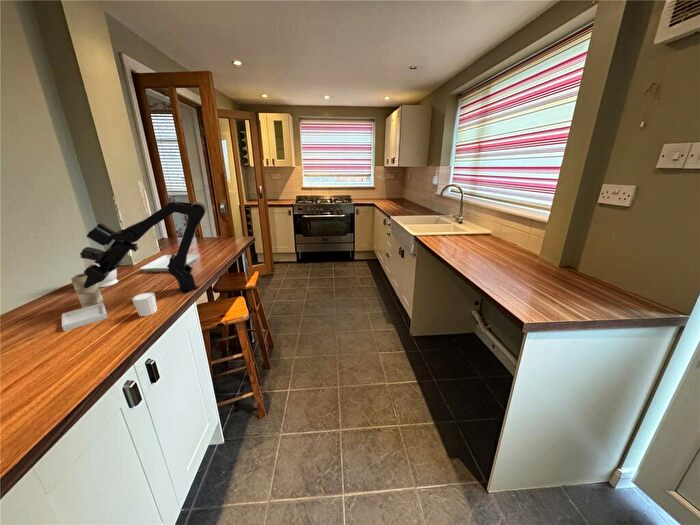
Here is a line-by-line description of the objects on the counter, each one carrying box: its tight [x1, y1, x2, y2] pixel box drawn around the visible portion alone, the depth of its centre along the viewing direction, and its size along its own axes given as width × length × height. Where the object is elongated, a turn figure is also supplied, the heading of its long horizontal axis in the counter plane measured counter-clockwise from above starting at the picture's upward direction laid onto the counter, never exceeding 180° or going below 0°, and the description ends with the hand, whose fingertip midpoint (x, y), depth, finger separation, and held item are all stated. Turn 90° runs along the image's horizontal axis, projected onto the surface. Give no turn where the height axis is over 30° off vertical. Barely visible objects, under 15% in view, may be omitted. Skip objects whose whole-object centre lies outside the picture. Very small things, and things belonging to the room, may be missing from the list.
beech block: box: [71, 272, 104, 308], centre depth 110 cm, size 5×5×13 cm
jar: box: [81, 249, 119, 288], centre depth 128 cm, size 11×10×15 cm
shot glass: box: [131, 292, 158, 318], centre depth 103 cm, size 7×7×7 cm
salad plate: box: [139, 254, 201, 273], centre depth 151 cm, size 21×21×3 cm
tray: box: [61, 302, 109, 332], centre depth 101 cm, size 12×12×2 cm
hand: (90, 282), depth 109 cm, fingers open, 9 cm apart
